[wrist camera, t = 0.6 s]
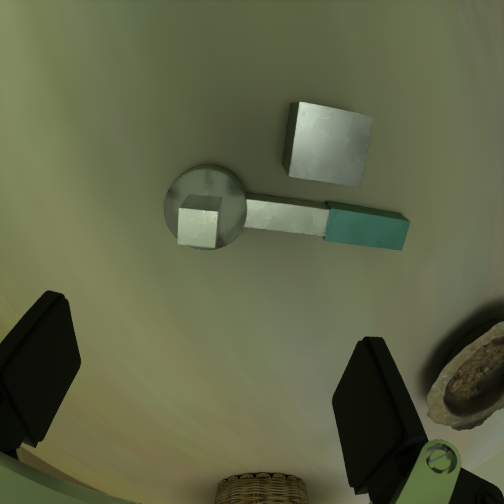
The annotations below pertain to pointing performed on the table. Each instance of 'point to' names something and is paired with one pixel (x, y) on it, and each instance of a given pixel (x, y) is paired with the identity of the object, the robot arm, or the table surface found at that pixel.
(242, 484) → the wicker basket
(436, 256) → the table surface
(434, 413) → the stone bowl
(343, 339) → the table surface
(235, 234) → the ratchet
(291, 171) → the brushed grey cube
